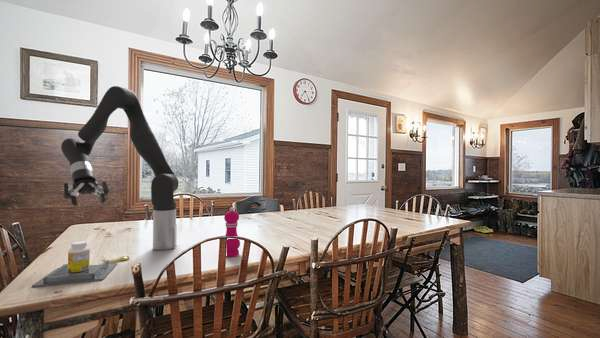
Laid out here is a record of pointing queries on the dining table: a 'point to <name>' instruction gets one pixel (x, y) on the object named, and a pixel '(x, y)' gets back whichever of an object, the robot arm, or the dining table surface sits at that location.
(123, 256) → the brass lever handle
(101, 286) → the dining table surface
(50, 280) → the dark grey tray
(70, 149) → the robot arm
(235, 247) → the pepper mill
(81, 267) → the supplement bottle
